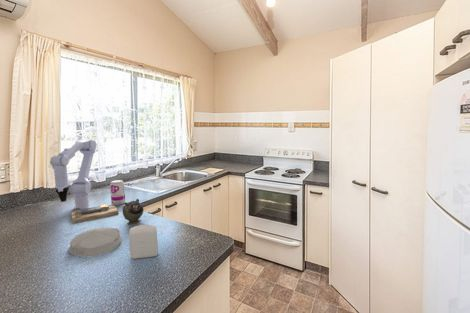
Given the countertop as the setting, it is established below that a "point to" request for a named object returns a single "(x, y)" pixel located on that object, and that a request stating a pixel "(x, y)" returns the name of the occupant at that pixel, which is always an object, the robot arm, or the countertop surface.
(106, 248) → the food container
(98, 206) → the latch bar
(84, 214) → the latch board
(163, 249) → the countertop surface
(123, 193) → the supplement can
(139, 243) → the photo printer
